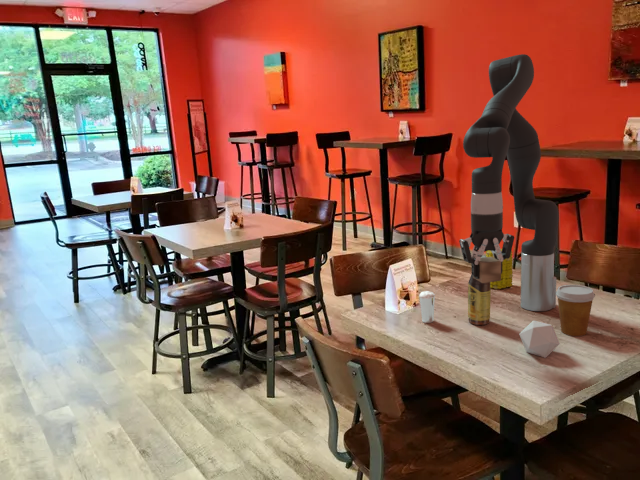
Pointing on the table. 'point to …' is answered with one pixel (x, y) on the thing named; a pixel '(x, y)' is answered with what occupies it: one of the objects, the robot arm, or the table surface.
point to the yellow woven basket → (503, 273)
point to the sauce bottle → (478, 301)
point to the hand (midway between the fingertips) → (486, 276)
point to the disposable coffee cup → (574, 308)
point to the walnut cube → (489, 270)
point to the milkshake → (427, 306)
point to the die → (539, 338)
